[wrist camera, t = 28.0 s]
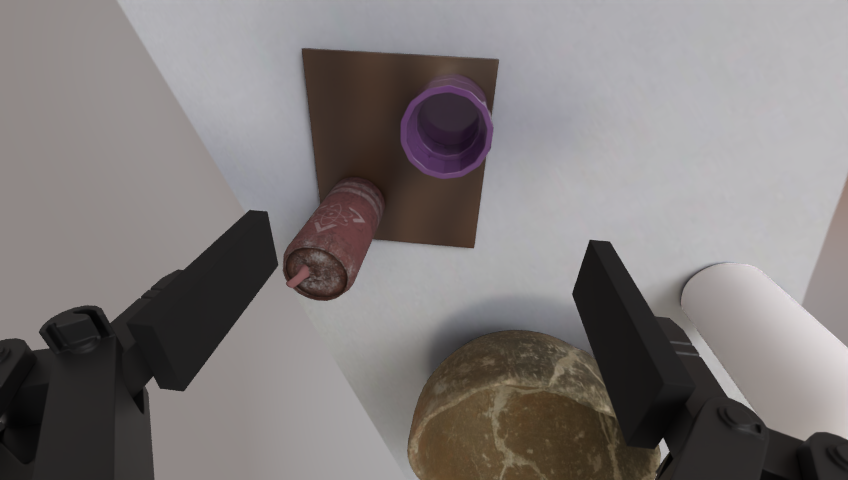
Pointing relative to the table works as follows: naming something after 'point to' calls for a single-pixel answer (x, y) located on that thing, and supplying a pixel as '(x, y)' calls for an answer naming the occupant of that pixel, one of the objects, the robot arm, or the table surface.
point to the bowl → (521, 416)
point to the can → (334, 240)
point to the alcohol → (771, 349)
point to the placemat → (390, 139)
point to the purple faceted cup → (447, 127)
